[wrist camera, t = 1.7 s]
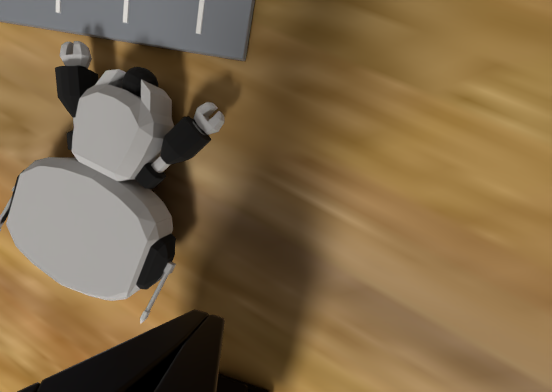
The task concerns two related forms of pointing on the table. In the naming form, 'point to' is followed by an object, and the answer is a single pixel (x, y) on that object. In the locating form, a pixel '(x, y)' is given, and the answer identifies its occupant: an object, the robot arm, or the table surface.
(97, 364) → the robot arm
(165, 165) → the robot toy
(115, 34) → the scale strip
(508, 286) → the table surface
